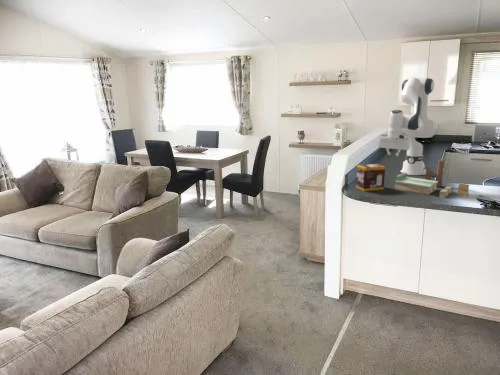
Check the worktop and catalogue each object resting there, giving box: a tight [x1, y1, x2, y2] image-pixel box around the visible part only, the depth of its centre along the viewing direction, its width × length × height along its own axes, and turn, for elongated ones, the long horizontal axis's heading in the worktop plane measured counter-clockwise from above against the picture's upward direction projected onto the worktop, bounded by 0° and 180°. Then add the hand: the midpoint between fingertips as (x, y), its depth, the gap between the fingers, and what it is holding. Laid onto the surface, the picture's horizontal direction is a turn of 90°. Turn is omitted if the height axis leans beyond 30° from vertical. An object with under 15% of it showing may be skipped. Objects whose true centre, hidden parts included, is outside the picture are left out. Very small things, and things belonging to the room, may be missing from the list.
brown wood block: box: [456, 183, 470, 197], centre depth 246 cm, size 4×5×6 cm
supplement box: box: [355, 163, 386, 192], centre depth 262 cm, size 10×15×16 cm
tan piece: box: [394, 182, 453, 199], centre depth 256 cm, size 16×31×4 cm, turn 49°
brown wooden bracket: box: [424, 159, 445, 188], centre depth 266 cm, size 4×11×18 cm, turn 64°
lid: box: [394, 172, 438, 188], centre depth 258 cm, size 16×22×4 cm
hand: (392, 155), depth 265 cm, fingers open, 4 cm apart
